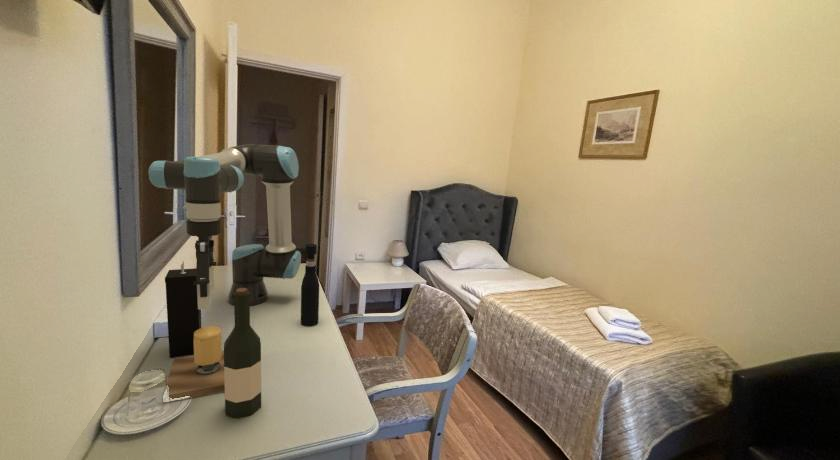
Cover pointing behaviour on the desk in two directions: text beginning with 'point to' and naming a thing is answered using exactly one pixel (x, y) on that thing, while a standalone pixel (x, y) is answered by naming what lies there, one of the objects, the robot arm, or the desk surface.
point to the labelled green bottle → (242, 362)
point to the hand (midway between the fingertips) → (206, 298)
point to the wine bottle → (310, 290)
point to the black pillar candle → (182, 311)
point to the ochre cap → (207, 345)
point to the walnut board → (194, 379)
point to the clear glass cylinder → (208, 368)
